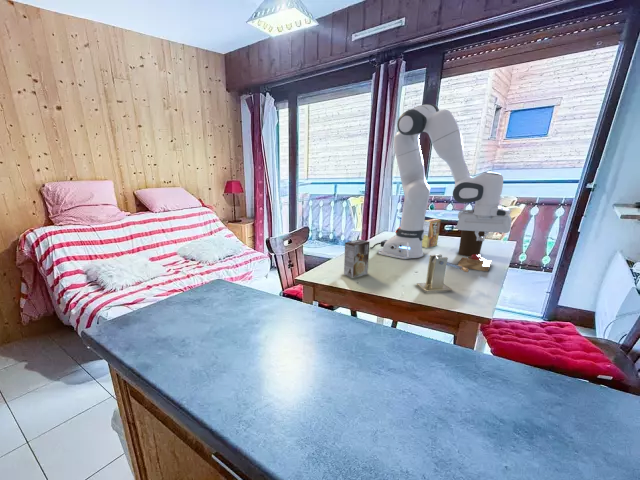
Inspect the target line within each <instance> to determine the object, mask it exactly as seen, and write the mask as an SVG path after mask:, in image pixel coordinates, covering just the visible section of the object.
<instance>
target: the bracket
mask: <svg viewBox="0 0 640 480" xmlns="http://www.w3.org/2000/svg"><path fill="white" fill-rule="evenodd" d="M435 256H436V257H439V258H435V261H434V263H433V262H432V261H433V259H434V257H435ZM447 262H448V257H446V256H444V257H443V254H439V253H438V254H430V255H429V260H428V265H427V273H426V278H425V279H426V280H425V282H417V283H416V285H417V286H419V287H420V288H421V289H422V290H423V291H425V293H426V292H448V291H452V288H451V287H449V286H448V285H447V284H445V283H444V281H445V277H446V270H447V266H448V265H447Z"/></svg>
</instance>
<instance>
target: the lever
mask: <svg viewBox="0 0 640 480" xmlns="http://www.w3.org/2000/svg"><path fill="white" fill-rule="evenodd" d="M435 258H439V257H436V256H435V257H434V259H433V261H432V262H433V263H434V261H435ZM446 266H449V267H452V268H456V269H458V270H461V271H463V272H464V273H468V272H469V270H470V269H468V268H465V267H463V266H461V265H458V264H455V263H452V262H448V261H447V265H446Z"/></svg>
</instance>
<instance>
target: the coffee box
mask: <svg viewBox="0 0 640 480" xmlns="http://www.w3.org/2000/svg"><path fill="white" fill-rule="evenodd" d="M370 244H371V243H370V241H368V240H363V239H356V240H350V241H346V242H344V260H343V261H344V262H343V264H344V265H343V275H345V276H348V277H350V278H359V277H362V276H366V275H369V273H368V272H369V257H370V256H369V255H370Z"/></svg>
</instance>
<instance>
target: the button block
mask: <svg viewBox="0 0 640 480" xmlns="http://www.w3.org/2000/svg"><path fill="white" fill-rule="evenodd" d="M457 265H461V266H463V267H465V268H467V269H468V270H476V271H483V272H488V271H489V270H490V268H491V265H492V260H487V259H485V258H484V257H482V256H481V258H480V259H479V260H476V259H471V256H467V257H464V256H463V257H461V259H460V260H459V261H458V263H457Z"/></svg>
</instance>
